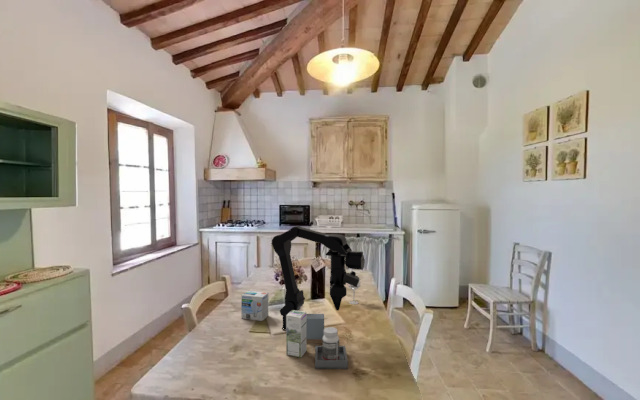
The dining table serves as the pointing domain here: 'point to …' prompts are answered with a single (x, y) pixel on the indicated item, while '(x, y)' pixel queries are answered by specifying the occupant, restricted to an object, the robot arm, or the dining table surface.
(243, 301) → the light bulb box
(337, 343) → the pill bottle
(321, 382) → the dining table surface
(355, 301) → the wineglass
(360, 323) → the dining table surface
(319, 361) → the parts tray
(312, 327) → the mounted unit
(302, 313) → the syrup box
